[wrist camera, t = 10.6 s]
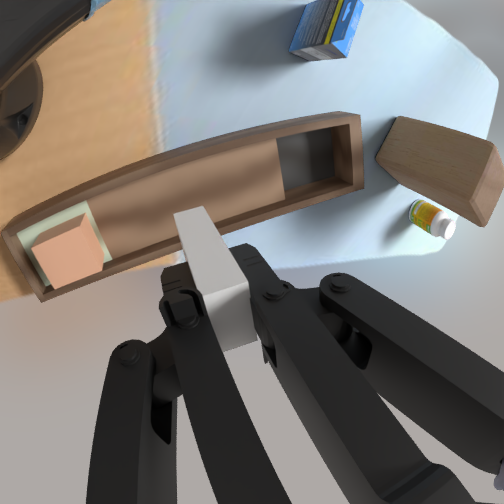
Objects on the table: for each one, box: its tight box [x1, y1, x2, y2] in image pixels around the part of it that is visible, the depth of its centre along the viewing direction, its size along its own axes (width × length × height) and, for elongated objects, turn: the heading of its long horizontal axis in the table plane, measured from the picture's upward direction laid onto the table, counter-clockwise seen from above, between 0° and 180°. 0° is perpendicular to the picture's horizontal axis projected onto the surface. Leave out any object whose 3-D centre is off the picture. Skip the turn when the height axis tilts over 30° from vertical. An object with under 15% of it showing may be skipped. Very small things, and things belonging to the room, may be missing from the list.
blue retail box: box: [289, 0, 364, 61], centre depth 26 cm, size 9×4×12 cm, turn 161°
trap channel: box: [1, 111, 364, 303], centre depth 35 cm, size 11×48×5 cm, turn 102°
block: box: [376, 116, 504, 227], centre depth 38 cm, size 10×10×20 cm
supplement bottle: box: [409, 199, 456, 240], centre depth 51 cm, size 5×5×10 cm
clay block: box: [31, 213, 105, 289], centre depth 30 cm, size 6×7×4 cm
